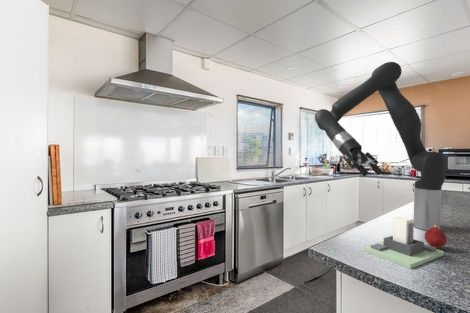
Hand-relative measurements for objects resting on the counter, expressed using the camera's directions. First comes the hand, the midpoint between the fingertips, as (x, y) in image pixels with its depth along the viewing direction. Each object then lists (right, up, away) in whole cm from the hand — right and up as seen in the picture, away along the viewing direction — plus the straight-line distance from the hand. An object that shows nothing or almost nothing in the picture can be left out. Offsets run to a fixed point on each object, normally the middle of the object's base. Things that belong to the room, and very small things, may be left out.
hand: (373, 174), depth 91 cm
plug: (+3, -24, -12) cm, 27 cm away
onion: (+16, -25, -8) cm, 31 cm away
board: (+3, -25, -12) cm, 28 cm away
